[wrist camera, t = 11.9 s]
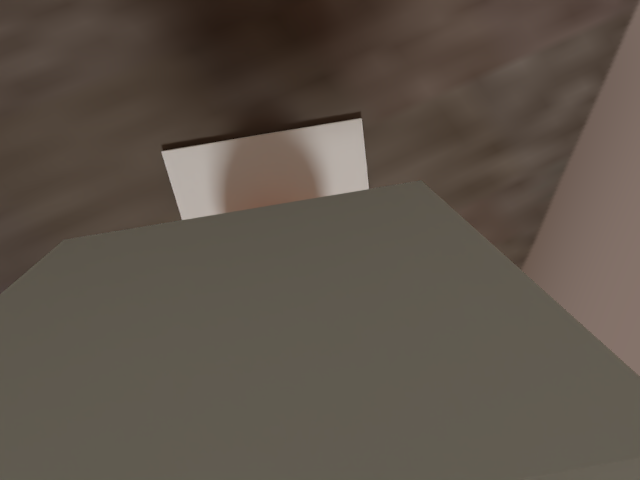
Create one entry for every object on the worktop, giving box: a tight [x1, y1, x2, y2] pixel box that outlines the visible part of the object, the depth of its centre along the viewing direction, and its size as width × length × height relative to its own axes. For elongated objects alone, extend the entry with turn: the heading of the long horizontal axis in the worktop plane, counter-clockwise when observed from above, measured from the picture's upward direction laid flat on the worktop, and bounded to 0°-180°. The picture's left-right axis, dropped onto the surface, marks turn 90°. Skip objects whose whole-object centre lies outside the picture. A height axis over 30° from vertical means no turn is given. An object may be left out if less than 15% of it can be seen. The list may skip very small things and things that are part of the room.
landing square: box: [162, 118, 369, 220], centre depth 21 cm, size 9×9×1 cm
